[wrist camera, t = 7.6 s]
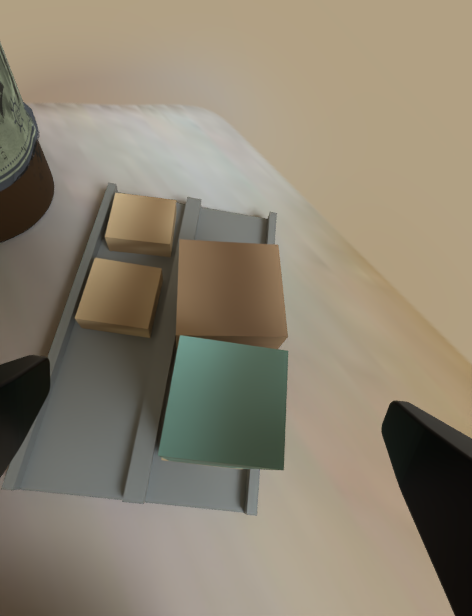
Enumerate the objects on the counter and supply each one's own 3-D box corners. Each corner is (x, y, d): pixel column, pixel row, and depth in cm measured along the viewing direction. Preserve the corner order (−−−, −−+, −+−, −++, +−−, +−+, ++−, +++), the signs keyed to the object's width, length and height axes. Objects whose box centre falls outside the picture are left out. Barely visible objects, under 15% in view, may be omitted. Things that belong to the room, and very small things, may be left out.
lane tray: (17, 487, 17) (0, 489, 16) (113, 200, 26) (108, 182, 24) (250, 511, 18) (256, 515, 17) (270, 228, 27) (276, 212, 25)
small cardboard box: (109, 250, 23) (104, 236, 21) (119, 207, 24) (115, 192, 23) (170, 257, 23) (170, 244, 22) (176, 214, 25) (176, 200, 23)
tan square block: (81, 328, 20) (74, 318, 19) (100, 270, 22) (94, 257, 21) (150, 337, 21) (148, 328, 19) (163, 280, 22) (161, 268, 21)
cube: (177, 365, 19) (175, 335, 14) (179, 287, 21) (179, 239, 16) (264, 365, 19) (287, 336, 15) (258, 289, 21) (278, 244, 17)
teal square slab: (162, 460, 18) (141, 453, 8) (192, 290, 22) (201, 161, 13) (238, 469, 18) (298, 471, 9) (253, 300, 23) (305, 180, 13)
